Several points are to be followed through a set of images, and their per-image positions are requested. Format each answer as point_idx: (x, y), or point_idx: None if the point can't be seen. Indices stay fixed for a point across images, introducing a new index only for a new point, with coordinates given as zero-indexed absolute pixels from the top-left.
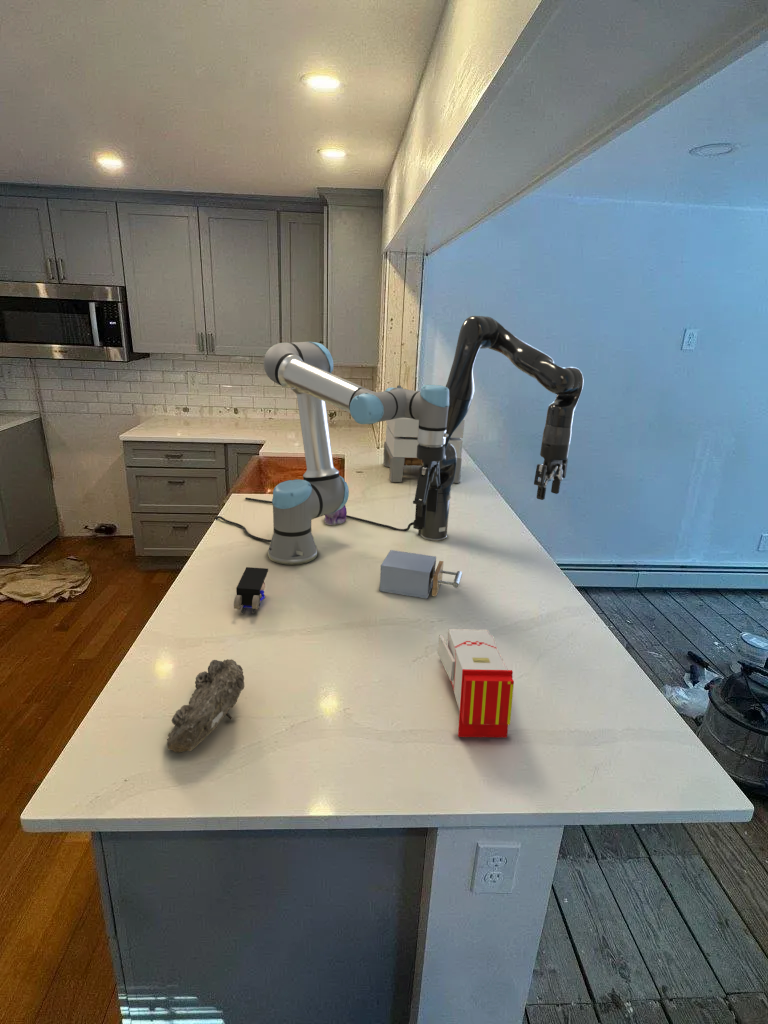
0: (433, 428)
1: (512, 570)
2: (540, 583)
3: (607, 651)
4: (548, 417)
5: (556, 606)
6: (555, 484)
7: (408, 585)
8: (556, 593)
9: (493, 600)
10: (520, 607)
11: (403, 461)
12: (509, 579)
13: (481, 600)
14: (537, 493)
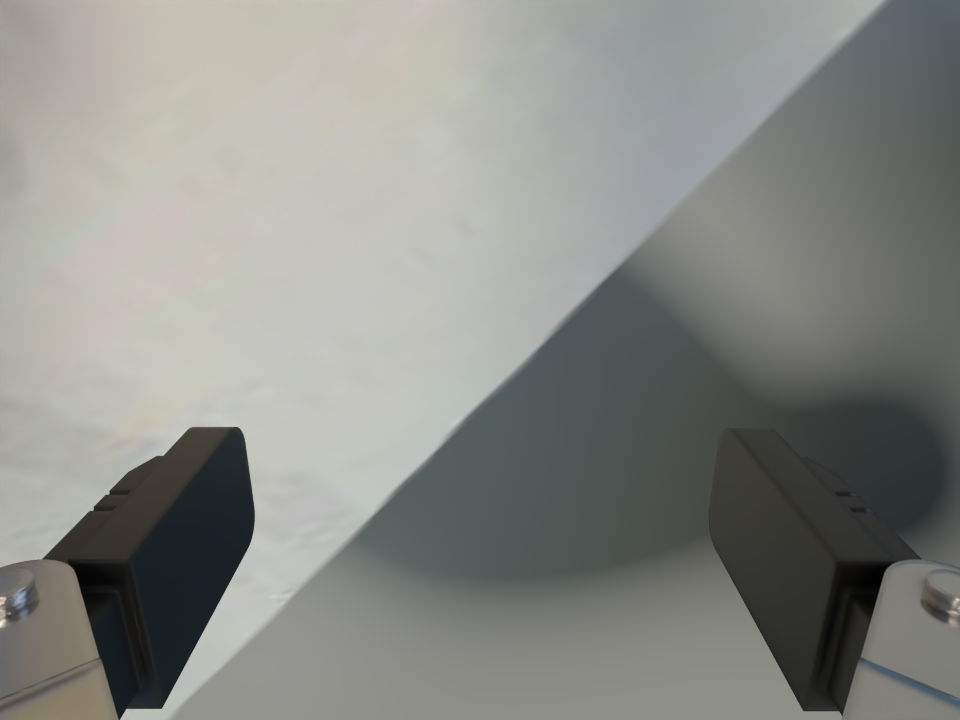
0: None
1: (451, 87)
2: (427, 290)
3: None
4: None
5: (277, 451)
6: (782, 581)
7: None
8: (391, 395)
9: (61, 222)
10: (126, 349)
11: None
12: (331, 144)
13: (3, 178)
14: (106, 501)
